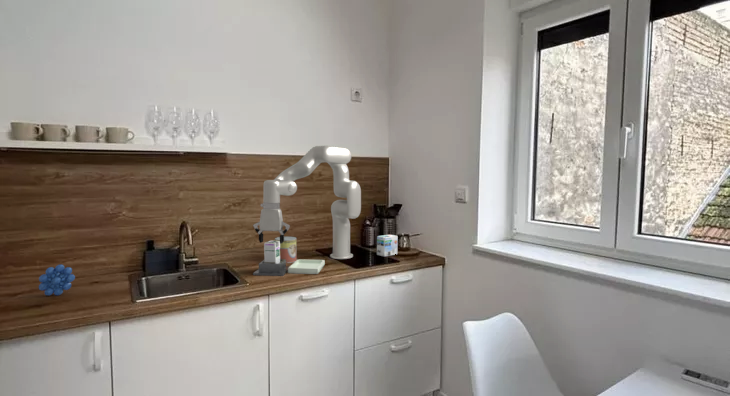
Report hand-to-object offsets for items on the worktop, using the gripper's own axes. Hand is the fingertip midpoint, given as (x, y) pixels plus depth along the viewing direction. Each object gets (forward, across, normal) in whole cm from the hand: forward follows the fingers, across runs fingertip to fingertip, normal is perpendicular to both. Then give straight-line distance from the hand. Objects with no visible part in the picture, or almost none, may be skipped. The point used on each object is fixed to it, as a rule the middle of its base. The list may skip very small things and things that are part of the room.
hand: (271, 242), depth 193 cm
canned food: (+14, 0, +24) cm, 27 cm away
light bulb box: (+13, +54, +45) cm, 71 cm away
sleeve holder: (+14, 0, +1) cm, 14 cm away
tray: (+14, +16, +8) cm, 22 cm away
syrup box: (+14, 0, +1) cm, 14 cm away
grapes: (+16, -71, -41) cm, 84 cm away
